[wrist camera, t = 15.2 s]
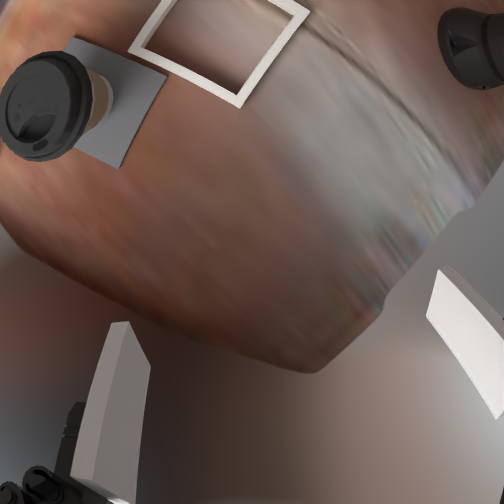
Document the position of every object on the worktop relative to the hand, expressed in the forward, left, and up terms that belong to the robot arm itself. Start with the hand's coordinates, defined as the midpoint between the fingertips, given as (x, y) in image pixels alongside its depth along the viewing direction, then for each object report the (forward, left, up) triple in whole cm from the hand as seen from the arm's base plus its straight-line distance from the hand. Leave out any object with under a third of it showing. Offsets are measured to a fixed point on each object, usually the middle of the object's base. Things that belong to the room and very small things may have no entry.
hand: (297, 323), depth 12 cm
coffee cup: (+22, +2, -31) cm, 38 cm away
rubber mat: (+22, +2, -32) cm, 39 cm away
